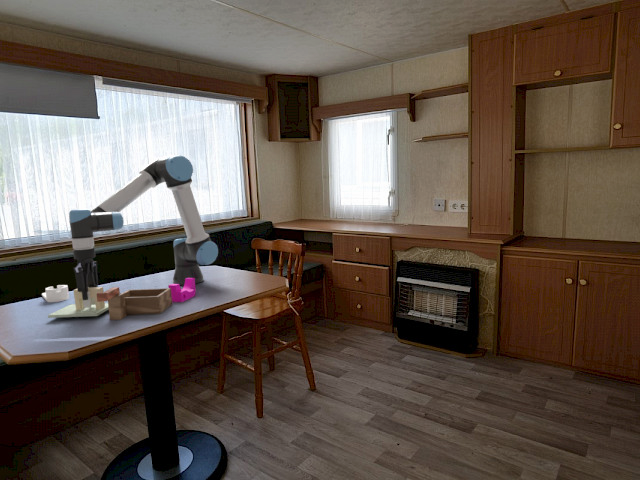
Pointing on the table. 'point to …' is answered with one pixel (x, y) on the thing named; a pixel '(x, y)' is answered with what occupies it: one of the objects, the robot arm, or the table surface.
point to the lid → (78, 308)
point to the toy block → (183, 290)
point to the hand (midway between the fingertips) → (90, 305)
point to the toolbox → (139, 302)
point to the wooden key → (108, 294)
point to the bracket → (56, 293)
